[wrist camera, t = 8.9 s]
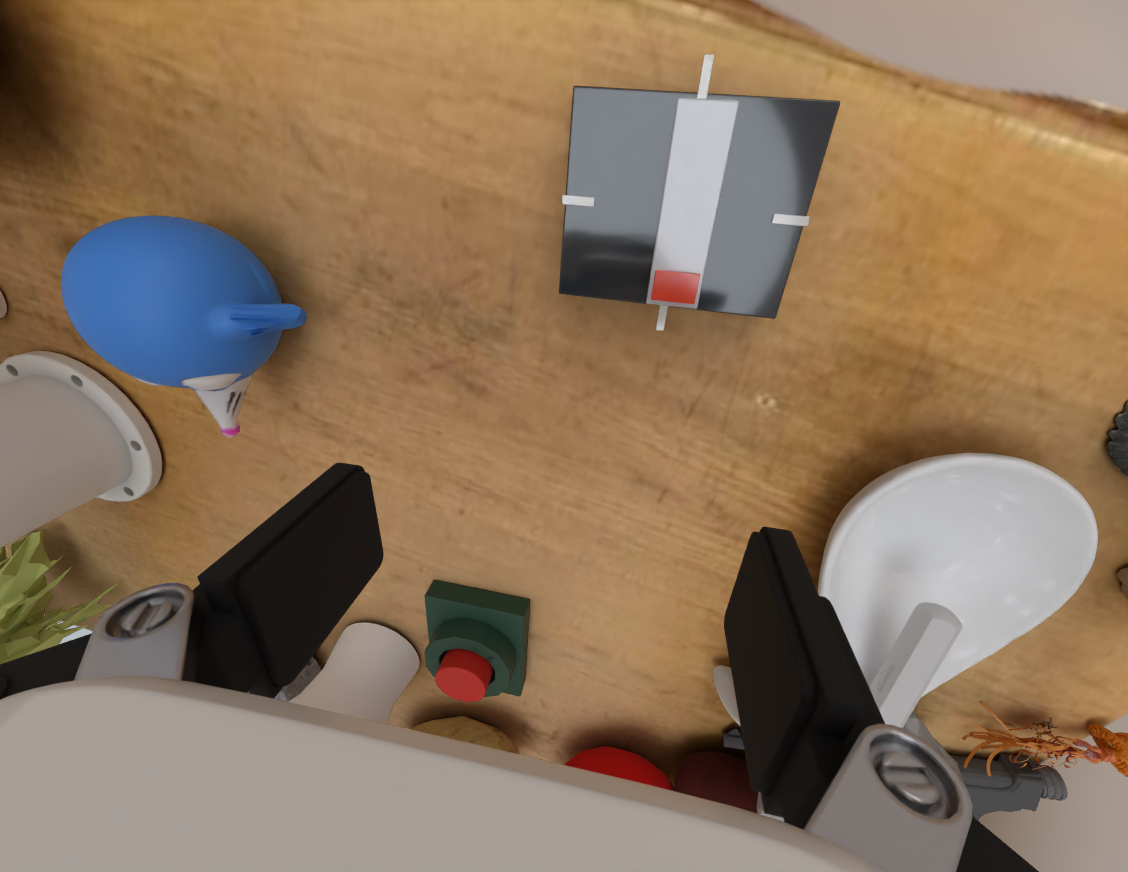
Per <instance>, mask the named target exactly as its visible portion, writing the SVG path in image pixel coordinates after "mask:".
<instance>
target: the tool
mask: <svg viewBox="0 0 1128 872" xmlns="http://www.w3.org/2000/svg"><path fill="white" fill-rule="evenodd" d="M962 628H963V626H962V624H961V622H960V620H959V619H958V617H957V616H956V615H955V614H954V613H953V612H951V611H950V610H949V609H947V608H946V607H944V606H941V605H939V604H935V603H929V602H925V603H919V604H918V605H917V606H916V607H915V609H914V610H913V612H912V614H911V616H910V617H909V619H908V621H907V623H906V624H905V626H904V628H903V630H902V631H901V633H900V635H899V637H898V638H897V640H896V642H895V644H894V646H893V647H892V649H891V651H890V653H889V654H888V656H887V658H886V660H885V661H884V663H883V665H882V667H881V668H880V670H879V672H878V674H877V675H876V677H875V679H874V681H873V682H872V684H871V686H870V691H871V693H872V695H873V697H874V700H875V702H876V704H877V706H878V708H879V711H880V713H881V715H882V717H883V720H884V722H885V724H888V725H894V726H897V727H900V728H903V726H904V725H905V723H906V721H907V720H908V718H909V716H910V715H911V713H912V711H913V710H914V708H915V706H916V705H917V703H918V701H919V700H920V698H921V696H922V695H923V693H924V691H925V690H926V688H927V686H928V685H929V683H930V681H931V680H932V678H933V676H934V675H935V673H936V671H937V670H938V668H939V666H940V665H941V663H942V661H943V660H944V658H945V656H946V655H947V653H948V651H949V650H950V648H951V646H952V645H953V643H954V641H955V640H956V638H957V636H958V635H959V633H960V631H961V630H962Z"/></svg>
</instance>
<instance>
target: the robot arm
mask: <svg viewBox="0 0 1128 872" xmlns="http://www.w3.org/2000/svg"><path fill="white" fill-rule="evenodd" d="M161 475H162V458H161V453H160V449H159V446H158V443H157V441H156V438H155V436H154V434H153V432H152V430H151V428H150V427H149V425H148V423H147V422H146V420H145V419H144V417H143V416H142V414H141V413H140V412H139V410H138V409H137V408H136V407H135V406H134V404H133V403H132V402H131V401H130V400H129V399H128V398H127V396H126V395H125V394H123V393H122V392H121V391H120V390H119V389H118V388H117V387H116V386H115V385H114V384H113V383H111V382H110V381H109V380H107V379H106V378H105V377H103V376H102V375H101V374H99V373H98V372H97V371H95V370H93V369H92V368H90V367H88V366H86V365H85V364H83V363H81V362H79V361H77V360H74V359H72V358H70V357H67V356H65V355H62V354H58V353H54V352H50V351H32V352H27V353H23V354H18V355H15V356H12V357H10V358H7V359H6V360H5V361H4V362H3V363H2V364H1V365H0V548H1V547H3V546H5V545H7V544H9V543H10V542H12V541H14V540H16V539H18V538H20V537H22V536H24V535H26V534H27V533H29V532H31V531H33V530H35V529H37V528H39V527H41V526H43V525H45V524H46V523H48V522H50V521H52V520H54V519H56V518H58V517H60V516H62V515H63V514H65V513H67V512H69V511H71V510H73V509H75V508H77V507H79V506H81V505H82V504H84V503H86V502H88V501H90V500H92V499H94V498H96V497H97V498H101V499H105V500H109V501H118V502H123V501H132V500H134V499H137V498H140V497H141V496H143V495H145V494H146V493H148V492H150V491H151V490H153V489H154V488H155V486H156V485H157V484H158V483H159V480H160V477H161ZM382 560H383V547H382V542H381V536H380V530H379V525H378V519H377V513H376V507H375V502H374V496H373V490H372V485H371V479H370V475H369V474H368V473H366V472H365V470H364V469H363V467H361V466H359V465H352V464H346V463H336V464H334V465H333V466H332V467H331V468H329V469H328V470H327V471H326V472H324V473H323V474H322V475H321V476H320V477H318V478H317V479H316V480H315V481H313V482H312V483H311V484H310V485H309V486H307V487H306V488H305V489H304V490H302V491H301V492H300V493H299V494H298V495H296V496H295V497H294V498H293V499H291V500H290V501H289V502H288V503H287V504H285V505H284V506H283V507H282V508H281V509H279V510H278V511H277V512H276V513H274V514H273V515H272V516H271V517H270V518H268V519H267V520H266V521H265V522H263V523H262V524H261V525H260V526H259V527H257V528H256V529H255V530H254V531H252V532H251V533H250V534H249V535H248V536H246V537H245V538H244V539H243V540H242V541H240V542H239V543H238V544H237V545H235V546H234V547H233V548H232V549H231V550H229V551H228V552H227V553H226V554H224V555H223V556H222V557H221V558H220V559H218V560H217V561H216V562H215V563H213V564H212V565H211V566H210V567H209V568H207V569H206V570H205V571H204V572H202V573H201V574H200V575H199V576H198V580H199V582H200V585H198V586H197V587H196V588H195V589H194V590H193V591H192V590H191V589H190V588H189V587H188V586H186V585H183V584H180V583H166V584H161V585H155V586H151V587H149V588H146V589H143V590H140V591H137V592H135V593H133V594H131V595H129V596H127V597H125V598H123V599H122V600H120V601H119V602H118V603H116V604H115V605H113V606H112V607H110V608H109V609H108V610H107V611H106V612H105V613H104V614H103V615H102V616H101V617H100V618H99V620H98V622H97V623H96V625H95V627H94V629H93V632H92V634H89V635H86V636H83V637H80V638H77V639H74V640H71V641H68V642H65V643H62V644H59V645H56V646H53V647H50V648H47V649H44V650H41V651H38V652H35V653H32V654H29V655H26V656H23V657H20V658H17V659H14V660H11V661H8V662H5V663H2V664H0V872H1039V871H1037V870H1036V869H1035V868H1034V867H1033V866H1031V865H1030V864H1029V863H1028V862H1027V861H1025V860H1024V859H1023V858H1022V857H1021V856H1019V855H1018V854H1017V853H1016V852H1015V851H1013V850H1012V849H1011V848H1010V847H1009V846H1007V845H1006V844H1005V843H1004V842H1002V841H1001V840H1000V839H999V838H998V837H997V836H995V835H994V834H993V833H992V832H991V831H989V830H988V829H987V828H986V827H985V826H983V825H982V824H981V823H980V822H979V821H977V820H976V819H975V818H974V817H973V816H972V807H973V805H972V802H971V799H970V796H969V792H968V789H967V787H966V786H965V784H964V782H963V781H962V779H961V777H960V776H959V774H958V772H957V771H956V770H955V769H954V767H953V766H952V765H951V764H950V763H949V762H948V761H947V759H946V758H945V757H944V756H943V755H942V754H941V753H940V752H938V751H937V750H936V749H935V748H934V747H933V746H931V745H930V744H929V743H928V742H927V741H925V740H923V739H922V738H920V737H918V736H917V735H915V734H913V733H912V732H910V731H908V730H905V729H902V728H900V727H897V726H894V725H888V724H885V722H884V720H883V717H882V715H881V713H880V711H879V708H878V706H877V704H876V702H875V700H874V697H873V695H872V693H871V691H870V688H869V686H868V684H867V682H866V679H865V677H864V675H863V673H862V670H861V668H860V666H859V664H858V661H857V659H856V657H855V655H854V652H853V650H852V648H851V646H850V643H849V641H848V639H847V637H846V634H845V632H844V630H843V628H842V625H841V623H840V621H839V619H838V616H837V614H836V612H835V610H834V607H833V605H832V604H831V602H830V600H828V599H827V598H826V597H823V596H819V595H818V593H817V590H816V588H815V585H814V583H813V581H812V578H811V576H810V574H809V571H808V569H807V566H806V564H805V562H804V559H803V557H802V554H801V552H800V550H799V547H798V545H797V543H796V540H795V538H794V535H793V534H792V532H791V531H789V530H782V529H776V528H769V527H762V529H761V530H760V532H753V533H752V534H751V536H750V539H749V542H748V545H747V548H746V551H745V554H744V557H743V561H742V564H741V567H740V570H739V573H738V576H737V579H736V582H735V585H734V588H733V591H732V594H731V598H730V601H729V604H728V607H727V610H726V613H725V619H724V629H725V636H726V642H727V648H728V654H729V660H730V666H731V672H732V678H733V684H734V690H735V696H736V702H737V708H738V714H739V720H740V726H741V732H742V738H743V744H744V750H745V756H746V762H747V768H748V774H749V780H750V784H751V787H752V789H753V791H756V792H760V793H761V798H762V804H763V809H764V813H765V814H769V815H774V816H778V817H782V818H784V822H783V821H779V820H776V819H773V818H770V817H766V816H763V815H760V814H757V813H753V812H750V811H747V810H744V809H740V808H737V807H734V806H730V805H726V804H722V803H718V802H714V801H710V800H706V799H702V798H698V797H694V796H690V795H686V794H683V793H679V792H675V791H671V790H667V789H663V788H659V787H655V786H651V785H647V784H643V783H639V782H634V781H630V780H626V779H622V778H617V777H613V776H609V775H605V774H600V773H596V772H592V771H588V770H583V769H579V768H575V767H571V766H566V765H562V764H558V763H554V762H549V761H545V760H541V759H537V758H532V757H528V756H524V755H520V754H515V753H511V752H507V751H502V750H498V749H493V748H489V747H485V746H480V745H476V744H472V743H467V742H463V741H459V740H454V739H450V738H446V737H441V736H437V735H433V734H428V733H424V732H419V731H415V730H411V729H406V728H402V727H397V726H393V725H389V724H384V723H380V722H376V721H371V720H367V719H362V718H358V717H353V716H349V715H344V714H340V713H335V712H331V711H326V710H322V709H317V708H313V707H308V706H304V705H299V704H295V703H290V702H286V701H281V700H277V699H274V698H275V697H276V696H277V694H278V693H279V692H280V691H281V689H282V688H283V687H284V686H287V685H289V684H291V683H292V682H293V681H294V680H295V679H296V677H297V676H298V675H299V674H300V672H301V671H302V670H303V668H304V667H305V666H306V664H307V663H308V662H309V660H310V659H311V658H312V656H313V655H314V654H315V652H316V651H317V650H318V648H319V647H320V646H321V644H322V643H323V642H324V640H325V639H326V638H327V636H328V635H329V634H330V632H331V631H332V630H333V628H334V627H335V626H336V624H337V623H338V622H339V620H340V619H341V618H342V616H343V615H344V614H345V612H346V611H347V610H348V608H349V607H350V606H351V604H352V603H353V602H354V600H355V599H356V598H357V596H358V595H359V594H360V592H361V591H362V590H363V588H364V587H365V586H366V584H367V583H368V582H369V580H370V579H371V578H372V576H373V575H374V574H375V572H376V571H377V570H378V568H379V567H380V565H381V563H382ZM248 692H249V693H248Z"/></svg>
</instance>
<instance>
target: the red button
mask: <svg viewBox="0 0 1128 872" xmlns="http://www.w3.org/2000/svg"><path fill="white" fill-rule="evenodd" d="M492 672H493V670H492V666H491V664H490V663H489V662H488V660H486V659H485V658H483V657H482V656H480V655H478V654H477V653H475V652H473V651H469V650H464V649H460V648H457V649H451V650H449V651H448V652H447V653H446V654H445V656H444V658H443V660H442V662H441V664H440V667H439V669H438V671H437V673H436V676H435V680H436V684H437V685H438V687H439V688H440V689H441V690H442V691H443V692H444V693H445V694H447V695H448V696H450V697H452V698H454V699H457V700H460V701H465V702H474V701H478V700H480V699H482V698H483V697H484V695H485V693H486V690H487V687H488V684H489V682H490V679H491V676H492Z"/></svg>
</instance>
